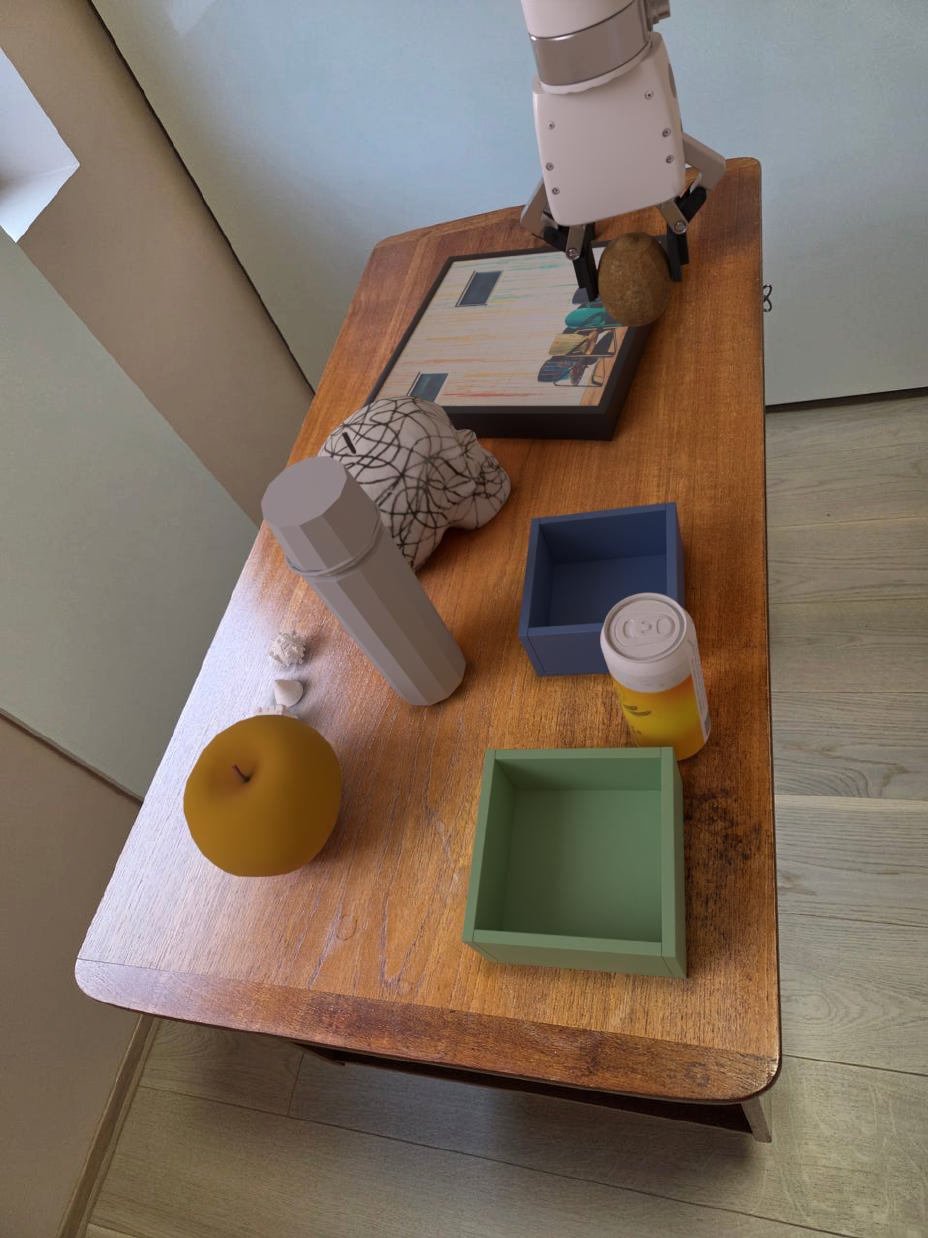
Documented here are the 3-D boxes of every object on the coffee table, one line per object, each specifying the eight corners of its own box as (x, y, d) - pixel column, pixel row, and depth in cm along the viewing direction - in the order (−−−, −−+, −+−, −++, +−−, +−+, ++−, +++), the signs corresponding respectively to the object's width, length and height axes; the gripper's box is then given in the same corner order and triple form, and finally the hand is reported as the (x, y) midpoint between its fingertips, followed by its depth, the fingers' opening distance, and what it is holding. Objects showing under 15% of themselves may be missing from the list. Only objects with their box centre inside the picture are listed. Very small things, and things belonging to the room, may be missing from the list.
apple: (366, 738, 70) (306, 675, 61) (378, 878, 62) (311, 829, 53) (239, 777, 72) (164, 722, 63) (235, 918, 64) (148, 877, 55)
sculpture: (528, 557, 76) (481, 446, 64) (342, 614, 80) (267, 519, 68) (505, 455, 85) (461, 342, 74) (340, 511, 89) (273, 412, 77)
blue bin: (683, 549, 70) (675, 501, 65) (686, 669, 64) (678, 626, 59) (548, 562, 75) (531, 518, 70) (537, 676, 68) (517, 636, 63)
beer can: (632, 697, 64) (598, 591, 52) (709, 694, 62) (692, 583, 50) (631, 766, 60) (595, 669, 49) (713, 765, 58) (695, 664, 47)
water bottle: (487, 675, 70) (373, 484, 50) (416, 728, 69) (273, 554, 50) (437, 615, 75) (318, 423, 56) (371, 664, 75) (228, 486, 55)
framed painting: (605, 413, 78) (358, 412, 92) (611, 440, 81) (371, 436, 95) (672, 233, 92) (448, 256, 106) (675, 262, 95) (457, 280, 109)
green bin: (682, 783, 58) (673, 746, 53) (686, 979, 51) (675, 957, 46) (509, 783, 63) (485, 749, 58) (490, 962, 56) (461, 941, 51)
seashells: (296, 747, 72) (279, 732, 69) (265, 752, 73) (247, 737, 70) (312, 640, 79) (297, 623, 76) (283, 646, 80) (267, 629, 77)
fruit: (666, 344, 65) (649, 256, 59) (597, 345, 68) (574, 262, 62) (689, 297, 67) (675, 208, 61) (622, 300, 70) (602, 216, 64)
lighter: (588, 249, 107) (602, 215, 102) (585, 258, 106) (599, 225, 101) (534, 225, 106) (546, 191, 102) (530, 234, 105) (542, 200, 101)
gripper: (724, -30, 50) (741, 231, 64) (475, 59, 56) (539, 280, 70) (730, 16, 46) (747, 284, 60) (460, 107, 52) (531, 331, 66)
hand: (634, 280), depth 65 cm, fingers closed on fruit, 6 cm apart
